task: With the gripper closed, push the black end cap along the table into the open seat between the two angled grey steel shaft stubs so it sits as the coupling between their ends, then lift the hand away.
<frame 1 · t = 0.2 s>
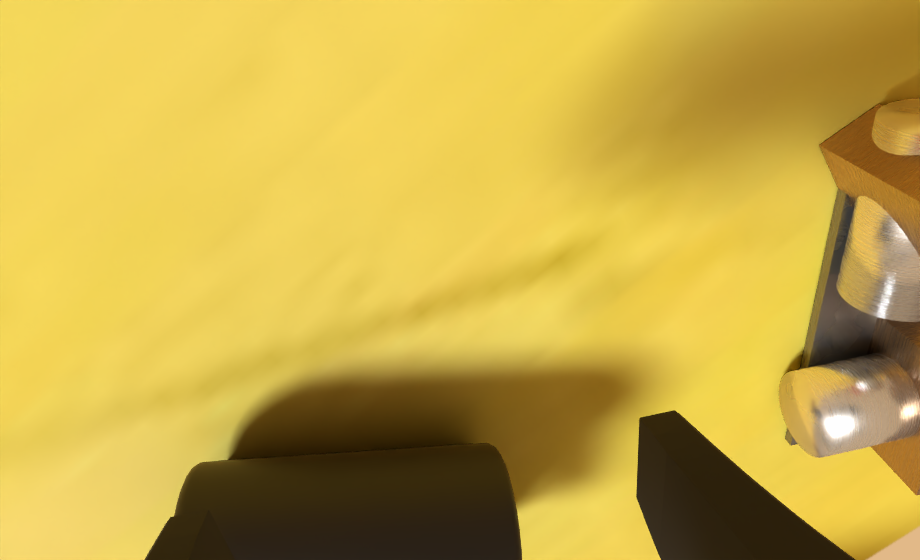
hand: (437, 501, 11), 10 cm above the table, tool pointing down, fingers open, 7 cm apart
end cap: (350, 467, 25), on the table
shaft rig: (824, 371, 25), on the table
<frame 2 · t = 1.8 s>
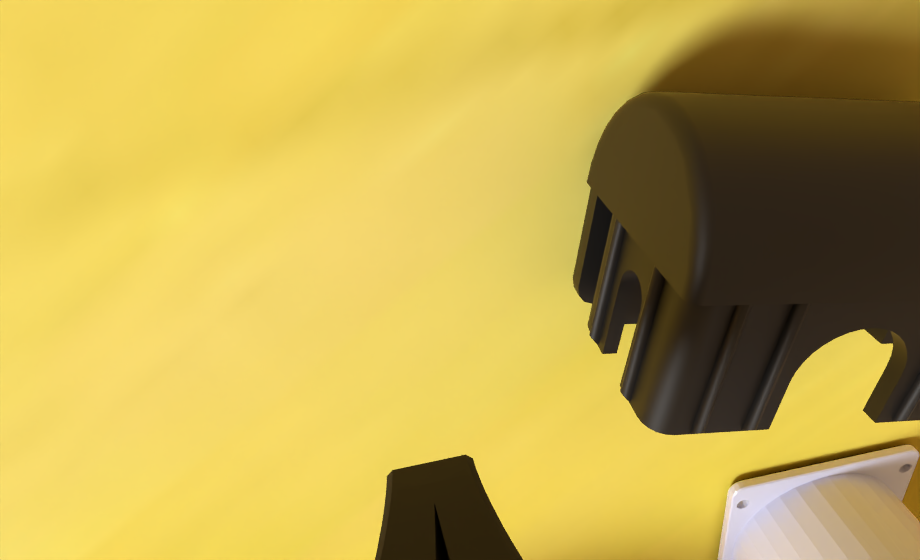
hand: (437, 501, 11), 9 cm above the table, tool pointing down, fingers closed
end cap: (732, 185, 19), on the table
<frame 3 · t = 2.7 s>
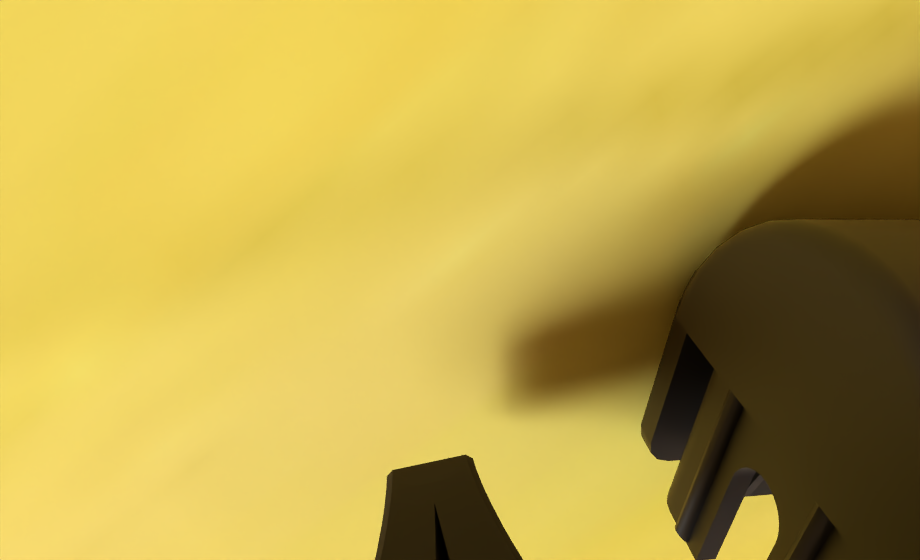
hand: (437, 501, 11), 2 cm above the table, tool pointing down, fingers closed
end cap: (863, 302, 14), on the table
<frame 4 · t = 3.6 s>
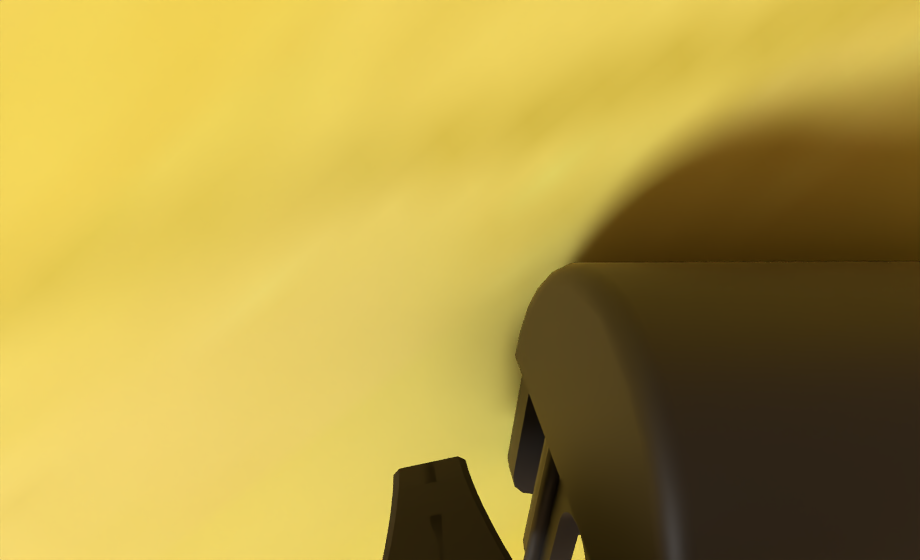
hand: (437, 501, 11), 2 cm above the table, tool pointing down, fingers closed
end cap: (730, 334, 13), on the table, touching gripper
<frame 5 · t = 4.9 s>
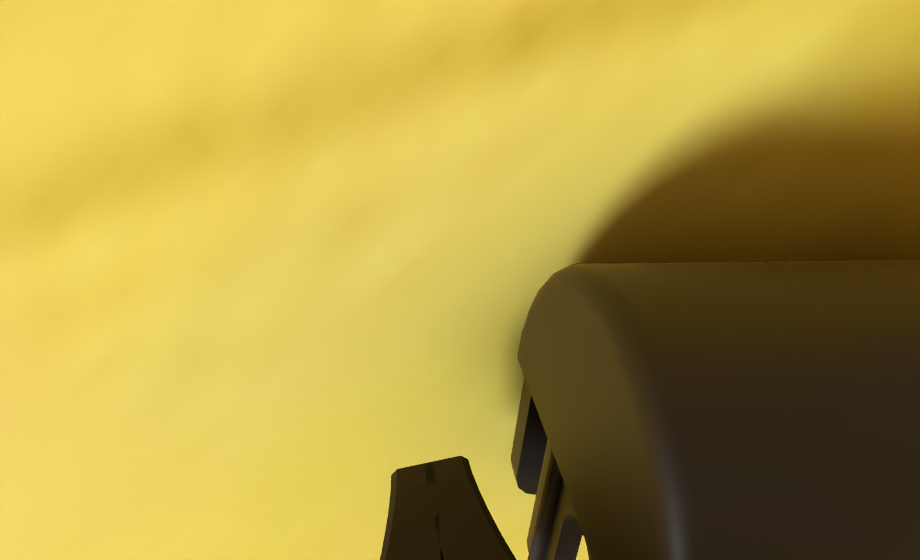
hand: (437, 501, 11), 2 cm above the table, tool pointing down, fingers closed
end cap: (733, 333, 13), on the table, touching gripper
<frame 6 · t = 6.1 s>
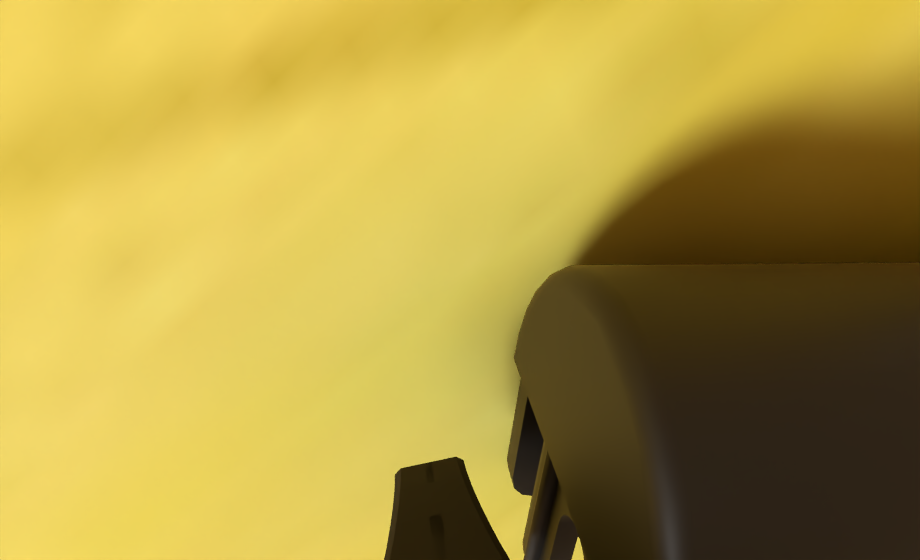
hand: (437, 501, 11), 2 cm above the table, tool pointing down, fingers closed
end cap: (730, 335, 13), on the table, touching gripper, shaft rig
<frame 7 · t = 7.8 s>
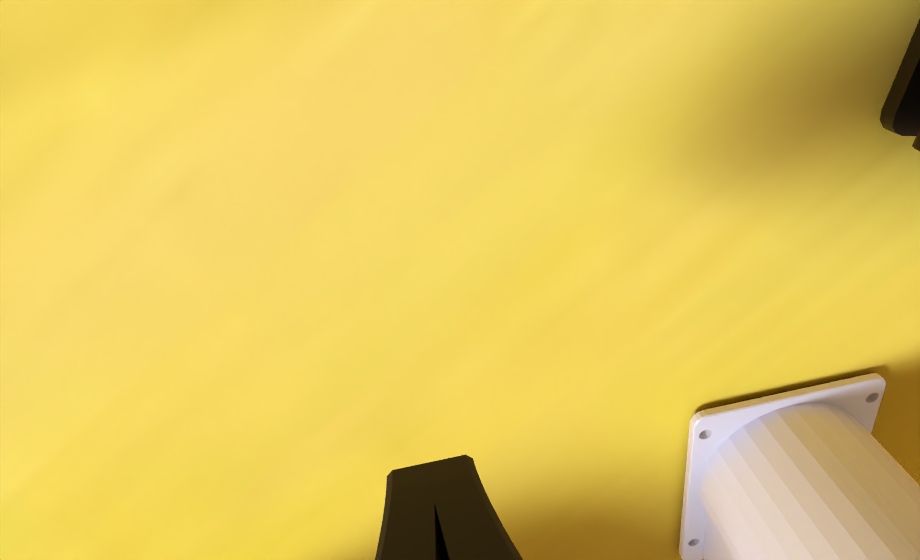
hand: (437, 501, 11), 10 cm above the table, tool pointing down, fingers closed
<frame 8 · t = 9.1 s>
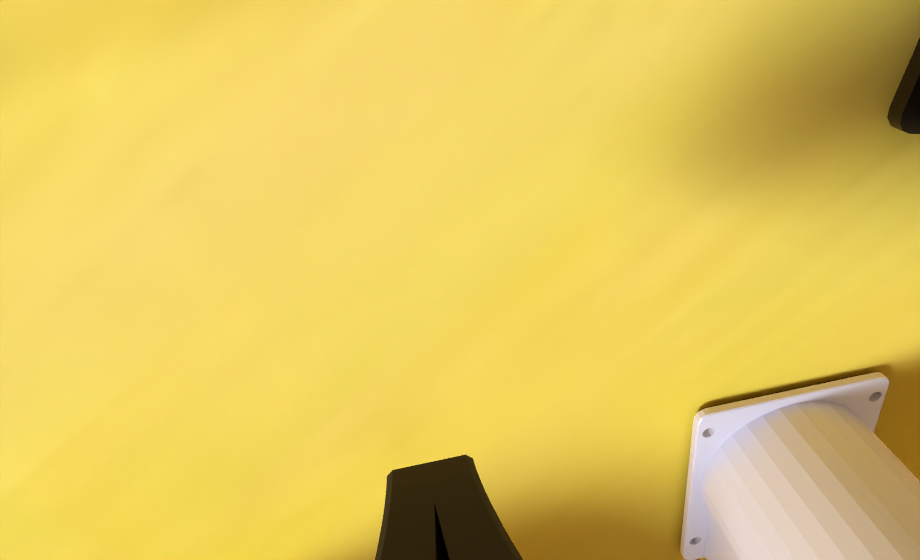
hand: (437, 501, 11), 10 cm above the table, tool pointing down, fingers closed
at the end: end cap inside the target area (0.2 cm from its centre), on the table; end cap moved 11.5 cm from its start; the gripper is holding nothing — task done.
